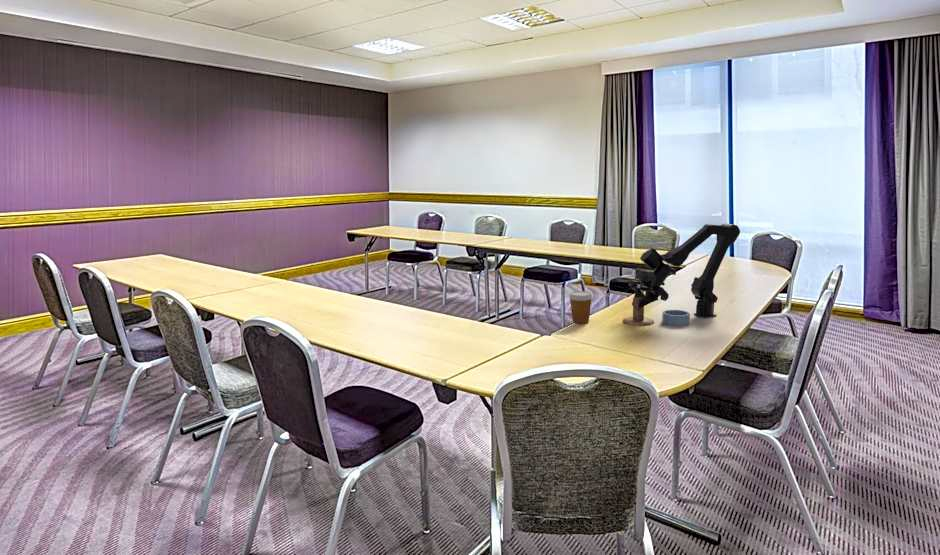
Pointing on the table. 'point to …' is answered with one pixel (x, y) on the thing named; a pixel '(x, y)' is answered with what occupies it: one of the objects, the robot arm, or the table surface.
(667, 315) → the slate bowl
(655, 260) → the robot arm
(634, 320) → the walnut lid
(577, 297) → the disposable coffee cup
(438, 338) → the table surface
